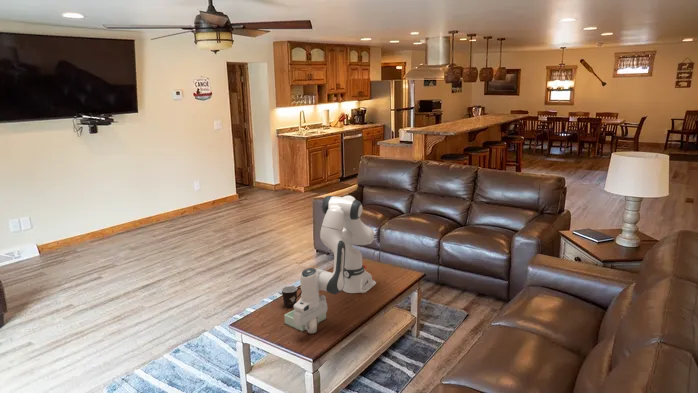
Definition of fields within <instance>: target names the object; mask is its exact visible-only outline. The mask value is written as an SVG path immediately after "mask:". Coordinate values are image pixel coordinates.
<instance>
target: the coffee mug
mask: <svg viewBox="0 0 698 393" xmlns="http://www.w3.org/2000/svg"><path fill="white" fill-rule="evenodd" d="M299 290H300V292H299V294H298V291H299ZM281 293H282V294H281V295H282V299H283V305H284V308H285V307H286V309H294V304H295V303H297V299H298V298H299V297H301V294H302V291H301V287H296V286H294V285H288V286H284V287H282V288H281ZM297 295H298V296H297Z"/></svg>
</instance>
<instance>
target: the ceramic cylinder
mask: <svg viewBox="0 0 698 393" xmlns="http://www.w3.org/2000/svg"><path fill="white" fill-rule="evenodd" d="M307 325H309V329H308V330H306V332H307V333H308V334H316V333H317V331H318V324H317V320H316V318H314V319H312V320H311V321H309V322H308V324H307Z"/></svg>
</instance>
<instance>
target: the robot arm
mask: <svg viewBox="0 0 698 393" xmlns="http://www.w3.org/2000/svg"><path fill="white" fill-rule="evenodd" d="M321 211H322V213H323V214H324V217H323V220H322V225H321V227H320V231H319V237H320V240H321V242H322V243H323V244H324V245H325V246H326V247H327V248H328V249H329V250H331V251H332V253H333V255H334V256H333V258H334V260H333V271H332V272H330V271H327V270H325V269H321V268H319V269H318V268H313V267H309V268H305V269H303V270H302V271H301V274H300V288H301V289H300V292H301V291H302V293H301V295H300V298H299V299H298V301H296V303H295V304H294V308H293V310H295V311H294V324H296V325H297V326H301V325H304V326H305V329H306V330H305V331H307V330H308V329H309V325H307V324H308V322H309V321H311V320H312V319H314V318H316V320H317V325H318V324H319V323H320V322H318V321H319V318H320V315H322V314H324V313H325V312H326V313H327V312H328V303H327V299H326V296H325V295H324V294H322V295H320V293H319V292H320V291H322V292H327V293H329V294H332V295H337V294H340V292H342V291H343V292H345V293H348V294H358V293H360V294H361V293H362V294H363V293H368V292H369V291H370V289H372V288H373V287H374V286H376V284H377V282H376V281H375V280H373V277H372V274H371V273H369V272H368V271H366V270H365V269H367V268H368V265H367V264H363V255H362V253H361V251H360V250H359V249H357V248H355V247H354V246H365V245H371V244H372V243H373V242H374V240H375V232H374V229H373V228H372V227H369V226H367V225H366V224H365V223H363V221H362V220H361V216H362V214H363V204H362V202H361V201H359V200H357V199H356V198H355V197H354V196H353V195H344V196H334V195H327V196H325V197H324V198H323V199H322V202H321Z"/></svg>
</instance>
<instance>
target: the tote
mask: <svg viewBox="0 0 698 393" xmlns="http://www.w3.org/2000/svg"><path fill="white" fill-rule="evenodd" d="M294 311H295V309H293V310H291V311H289V312H287V313H284V316H283V318H284V324H285V325H287V326H289V327H291V328H293V329H296V330H298V331H300V332H304V331H307V330H306V329H305V326H304V325H301V326H297V325H296V324H294ZM324 320H327V312H325V313H324V314H322V315H320V318H319V321H318V322H319V323H321V322H323V321H324Z"/></svg>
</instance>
